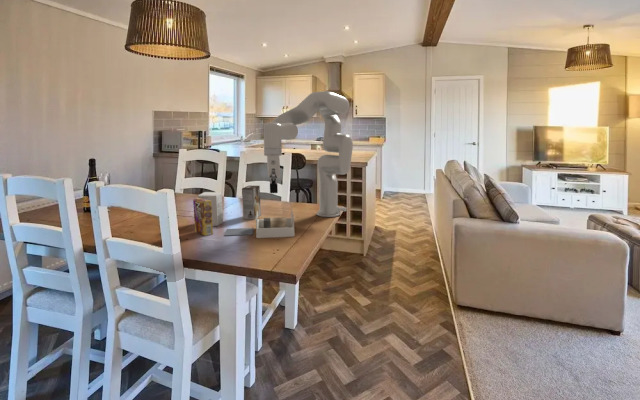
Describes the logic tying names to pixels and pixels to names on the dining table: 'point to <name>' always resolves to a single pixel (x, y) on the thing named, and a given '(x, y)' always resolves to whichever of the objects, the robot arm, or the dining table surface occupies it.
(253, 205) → the coffee box
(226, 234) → the mat
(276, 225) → the block
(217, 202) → the supplement box
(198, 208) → the candy box
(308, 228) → the dining table surface
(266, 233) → the grey open box
